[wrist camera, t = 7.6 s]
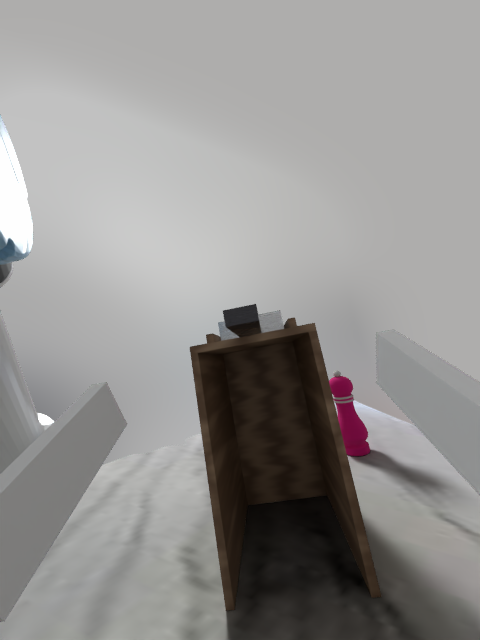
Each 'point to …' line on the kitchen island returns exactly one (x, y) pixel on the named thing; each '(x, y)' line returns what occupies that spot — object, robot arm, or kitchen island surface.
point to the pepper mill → (349, 417)
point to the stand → (272, 438)
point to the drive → (248, 322)
